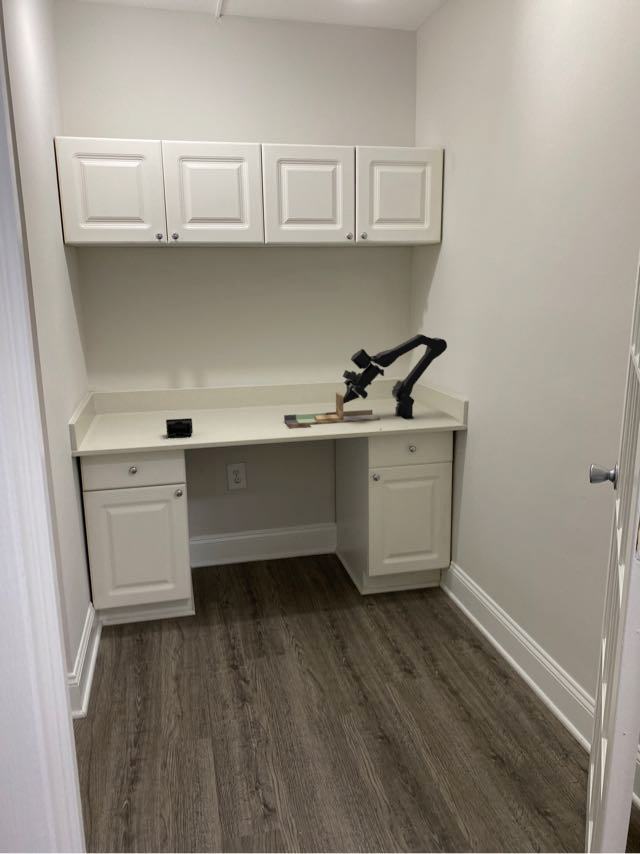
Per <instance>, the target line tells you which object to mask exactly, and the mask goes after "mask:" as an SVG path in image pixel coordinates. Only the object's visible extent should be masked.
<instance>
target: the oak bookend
mask: <svg viewBox="0 0 640 854" xmlns="http://www.w3.org/2000/svg"><path fill="white" fill-rule="evenodd" d="M343 397H344V395H343V394H342V393H341V392H335V412H336V414H334V415H318V416H315V420H316V421H317V422H321V421H337V420H344V419H343V411H344V404H343Z"/></svg>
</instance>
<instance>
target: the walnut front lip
mask: <svg viewBox="0 0 640 854" xmlns="http://www.w3.org/2000/svg"><path fill="white" fill-rule="evenodd" d="M374 421H381V417H376V418H367V419H352V420H337V421H321V422H306V423H291V424H289V428H288V429H301V428H302V429H304V428H312V425H313V426H314V425H330V424H345V423H358V422H361V423H362V422H374Z"/></svg>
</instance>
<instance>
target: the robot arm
mask: <svg viewBox="0 0 640 854" xmlns="http://www.w3.org/2000/svg"><path fill="white" fill-rule="evenodd" d="M421 345H424V346H426V347H425V348H426V349H425V352H424V354H423V356H422V357H421V358H420V359H419V360H418V362H417V363H416V364H415V366H414V367H413V368H412V369H411V371H410V372H409V373H408V375H407V376H406V378H404V379H403V380H402V381H401V380H400V379H399V380H397V381H396V383H395V385H394V386H392V388H393V389H392V390H391V395H392V397H393V398H394V399H395V401H396V406H395V416H396V417H400V418H402V419H403V420H405V419H406V420H407V419H414V418H415V417H414V416H413V408H414V407H413V405H414V403H415V399H414V398H413V397H412V396H411V394H412V392H413V388H414V385H415V384H416V383H417V381H418V380H419V379H420V378H421V377H422V375H423V374H424V373H425V371H426V370H427V368H428V367H429V366H430V365H431V363H432V362H433V361H434V359H436V358H438V357H440V356H441V355H442V354H443V353H444V352H445V351H446V350H447V348H448V344H447V341H446V339H444V338H439V337H429V336H426V335H425V334H421V333H418V334H416V335H415V336H413V337H411V338H410V339H408V340H406V341H405V342H403V343H401V344H398V345H396V346H395V347H392V348H391V349H386V350H383V351H380V352H378V353H377V354H375V355H371V356H370V355H369V354H368V353H367V352H366V350H365V349H363V348H360V350H358V351H356V352H355V353H354V354H353V355H352V356H351V358H350V360H351V362H353V364H354V365H355V366H356V367H357V368H358V369H360V370H363V371H361V372H358V373H357V372H356V371H354V370H351V371H349V370H346V369H345V370H344V373H343V375H342V377H343V378H344V379H346V380H344V382H343V383H344V384H345V385H346V391H345V394H344V395H343V405H344V404H346V403H347V404H348V403H349V402H351V401H353V400H356V399H358V398H360V397H361V398H362V399H363V400H366V398H367V397H368V393H369V392H367V391H366V390H365V389H367V388H368V386H371V385H372V382H373V381H374V380H375V378H377V377H378V376H379V375H380V376H382V377H385V369H383V368H388V367H389V366H391V365H392V364H393V363H395V362H396V360H397V359H398V358H399V357H401V356H403V355H405V354H406V353H408V352H410V351H412V350H414V349H416V348H418V347H419V346H421ZM380 367H382V368H380Z"/></svg>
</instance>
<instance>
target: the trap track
mask: <svg viewBox="0 0 640 854" xmlns="http://www.w3.org/2000/svg"><path fill="white" fill-rule="evenodd" d="M334 414H336V411H328V412H327V411H326V412H313V413H296V414H295V413H293V414H284V415H283V420H284V423H285V425H286V426H287V428H288V429H289V424H291V423H306V422H317V421H316V420H315V416H318V415H334ZM367 418H377V417H376V416H375V415H374V413H373V409H363V410H362V409H361V410H346V411H344V410H343V419H344V420H352V419H367Z"/></svg>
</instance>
